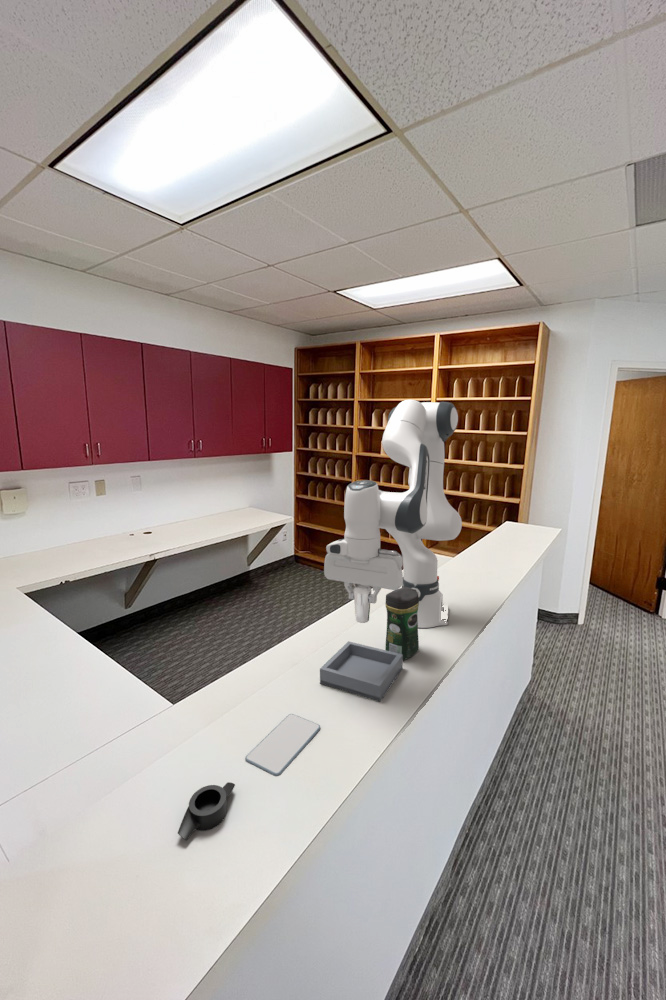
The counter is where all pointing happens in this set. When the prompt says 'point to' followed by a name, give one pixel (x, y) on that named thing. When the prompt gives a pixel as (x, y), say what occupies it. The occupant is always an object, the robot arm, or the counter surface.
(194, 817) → the black wing nut
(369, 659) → the tray
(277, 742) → the smartphone
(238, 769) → the counter surface
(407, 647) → the coffee jar
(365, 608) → the milkshake
